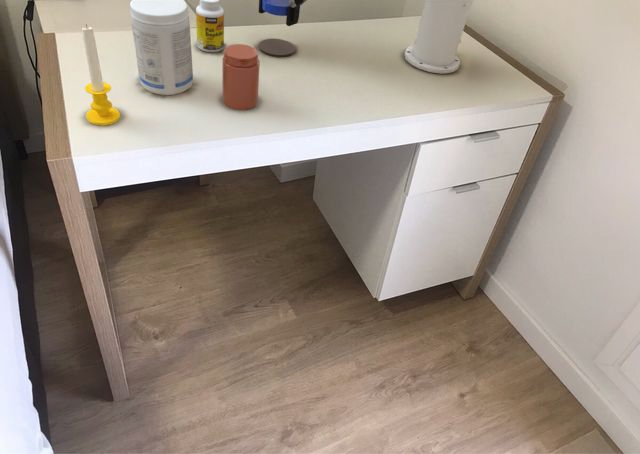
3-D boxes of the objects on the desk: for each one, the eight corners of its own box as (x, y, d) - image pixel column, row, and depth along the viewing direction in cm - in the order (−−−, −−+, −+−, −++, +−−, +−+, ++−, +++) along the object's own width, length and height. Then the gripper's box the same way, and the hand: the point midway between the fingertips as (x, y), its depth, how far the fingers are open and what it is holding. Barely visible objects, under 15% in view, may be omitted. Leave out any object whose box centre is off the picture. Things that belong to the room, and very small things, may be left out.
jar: (239, 88, 98) (240, 39, 91) (264, 102, 95) (267, 52, 89) (215, 99, 94) (214, 49, 87) (240, 114, 91) (242, 63, 85)
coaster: (275, 37, 116) (275, 35, 116) (302, 50, 113) (302, 48, 113) (250, 47, 111) (250, 44, 111) (278, 60, 108) (279, 58, 108)
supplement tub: (185, 69, 100) (181, -9, 90) (199, 93, 94) (196, 13, 84) (134, 74, 96) (123, -7, 86) (145, 99, 91) (135, 16, 81)
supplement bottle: (203, 55, 105) (202, 4, 98) (192, 43, 109) (190, -7, 102) (228, 51, 108) (228, 2, 101) (217, 40, 111) (216, -9, 104)
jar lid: (277, 0, 110) (277, -9, 108) (302, 11, 107) (303, 2, 106) (255, 7, 105) (255, -3, 104) (280, 18, 103) (281, 9, 101)
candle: (83, 111, 85) (63, 18, 75) (115, 106, 88) (100, 15, 77) (91, 128, 82) (71, 33, 72) (124, 122, 85) (110, 29, 74)
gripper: (237, -89, 96) (235, 7, 108) (310, -62, 90) (298, 37, 102) (264, -93, 101) (259, 0, 113) (335, -67, 94) (321, 28, 107)
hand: (278, 17), depth 107 cm, fingers closed on jar lid, 6 cm apart
